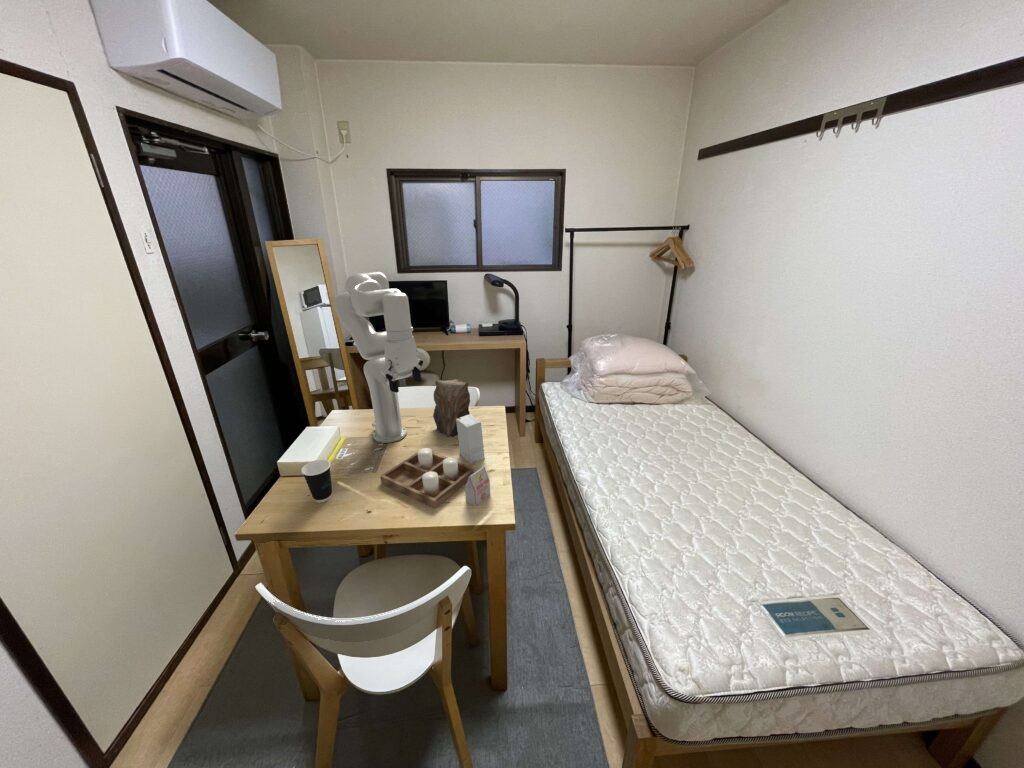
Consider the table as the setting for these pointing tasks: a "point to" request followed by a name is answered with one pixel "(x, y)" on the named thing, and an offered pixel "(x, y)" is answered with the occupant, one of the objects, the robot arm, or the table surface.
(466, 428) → the skincare box
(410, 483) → the rack
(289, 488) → the table surface
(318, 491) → the dixie cup
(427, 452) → the egg left
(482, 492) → the milk carton
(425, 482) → the egg
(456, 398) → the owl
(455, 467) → the egg right
